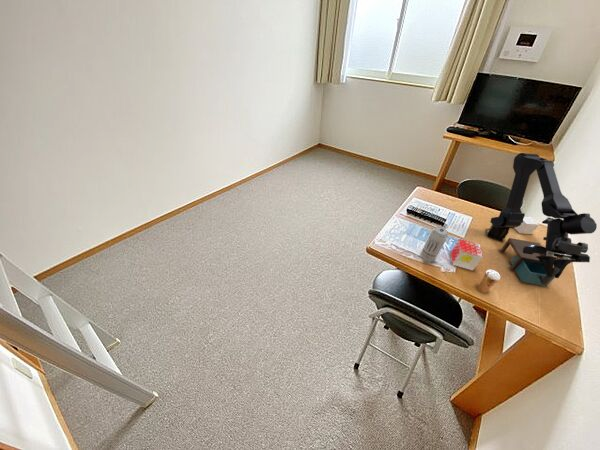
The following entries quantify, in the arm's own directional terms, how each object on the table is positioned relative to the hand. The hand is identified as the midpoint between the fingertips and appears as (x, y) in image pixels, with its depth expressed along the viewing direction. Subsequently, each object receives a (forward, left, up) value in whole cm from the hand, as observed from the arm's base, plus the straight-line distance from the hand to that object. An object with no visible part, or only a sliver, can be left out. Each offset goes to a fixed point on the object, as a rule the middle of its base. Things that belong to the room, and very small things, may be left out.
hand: (553, 277), depth 98 cm
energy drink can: (-40, -6, -9) cm, 42 cm away
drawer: (-3, +7, -8) cm, 11 cm away
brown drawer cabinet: (-5, +15, -9) cm, 18 cm away
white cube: (-3, +44, -9) cm, 45 cm away
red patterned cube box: (-27, +1, -9) cm, 29 cm away
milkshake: (-19, -11, -9) cm, 24 cm away
